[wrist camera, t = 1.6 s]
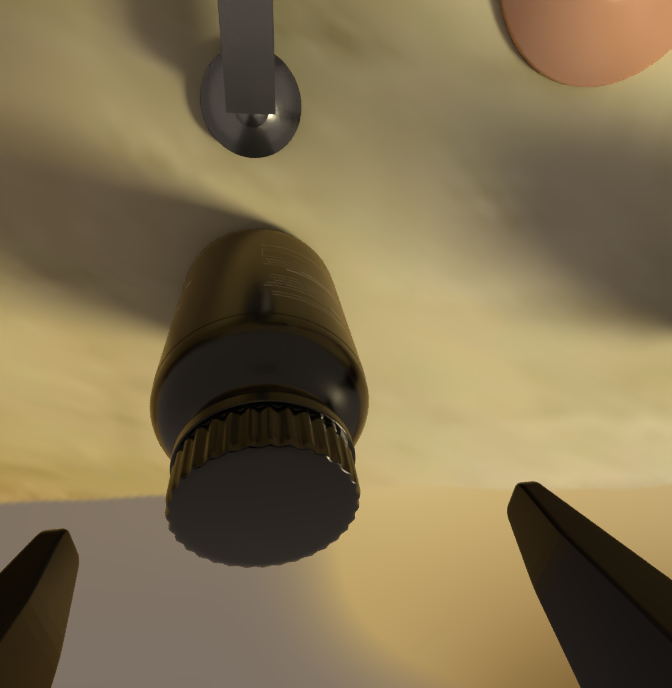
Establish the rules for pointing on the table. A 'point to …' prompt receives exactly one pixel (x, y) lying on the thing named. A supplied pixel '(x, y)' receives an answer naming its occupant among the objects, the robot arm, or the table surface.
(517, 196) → the table surface
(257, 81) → the jointed grey bar linkage
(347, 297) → the table surface
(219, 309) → the supplement bottle
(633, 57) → the peach domed disc
